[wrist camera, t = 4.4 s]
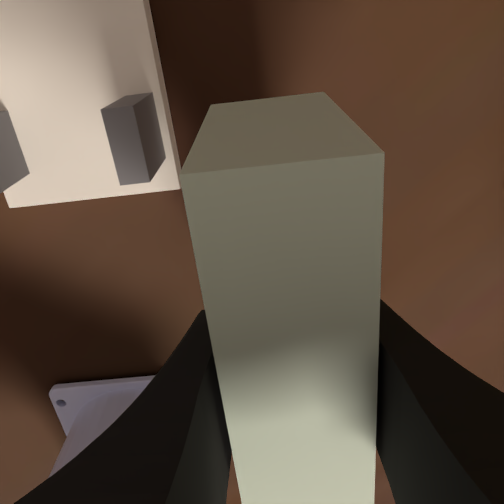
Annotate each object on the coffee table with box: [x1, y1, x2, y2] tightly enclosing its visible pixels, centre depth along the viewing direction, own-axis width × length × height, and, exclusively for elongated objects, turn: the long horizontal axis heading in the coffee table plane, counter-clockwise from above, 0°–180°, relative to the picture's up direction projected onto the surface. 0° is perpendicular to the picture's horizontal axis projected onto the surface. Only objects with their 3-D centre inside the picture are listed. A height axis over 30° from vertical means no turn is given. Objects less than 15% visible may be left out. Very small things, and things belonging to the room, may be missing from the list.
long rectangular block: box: [179, 92, 384, 504], centre depth 11 cm, size 10×3×6 cm, turn 6°
